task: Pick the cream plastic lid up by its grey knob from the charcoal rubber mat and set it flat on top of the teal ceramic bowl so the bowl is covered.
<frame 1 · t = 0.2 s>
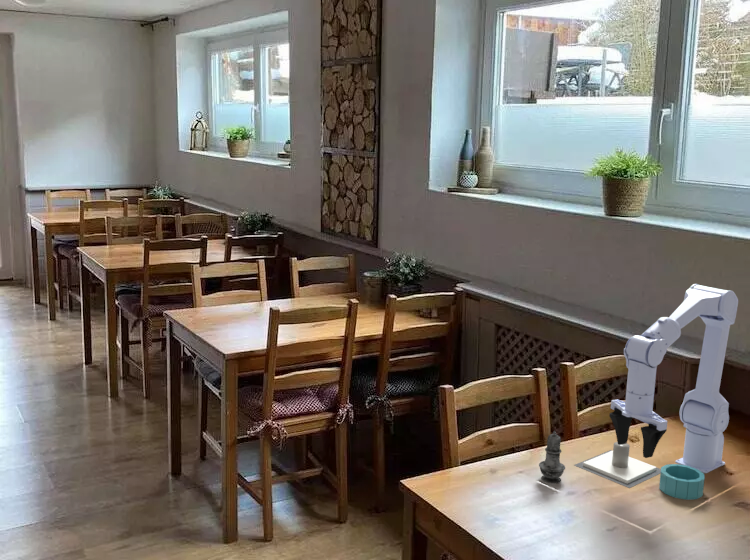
hand: (634, 450, 175), 10 cm above the table, tool pointing down, fingers open, 7 cm apart
bowl: (680, 491, 177), on the table
lid: (619, 467, 188), resting on mat
dark grey turned figure: (550, 481, 181), on the table
mat: (619, 469, 188), on the table
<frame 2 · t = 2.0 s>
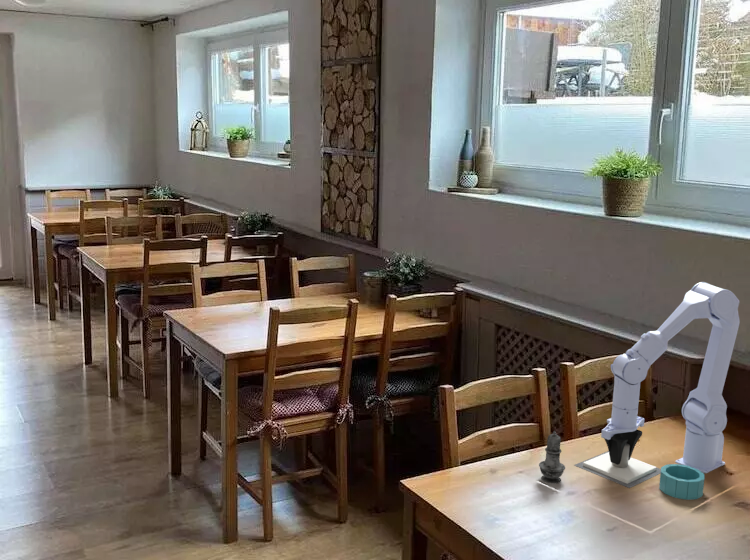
hand: (620, 460, 188), 2 cm above the table, tool pointing down, fingers closed on lid, 4 cm apart
lid: (619, 467, 188), resting on mat, touching gripper
everything else where it was.
when the fingers open (7 cm above the table, at t = 5.0 s): lid stays where it is, resting on bowl.
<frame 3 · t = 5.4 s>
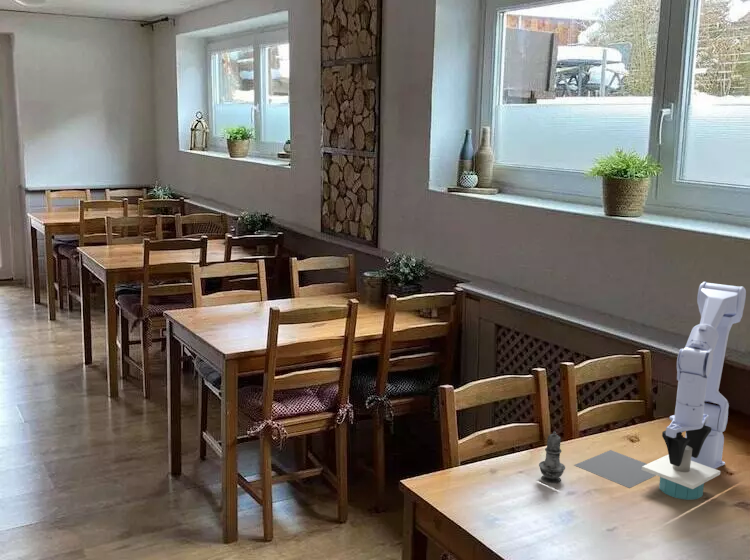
hand: (683, 460, 176), 7 cm above the table, tool pointing down, fingers open, 7 cm apart
lid: (680, 472, 177), point 4 cm above the table, touching bowl
everything else where it was.
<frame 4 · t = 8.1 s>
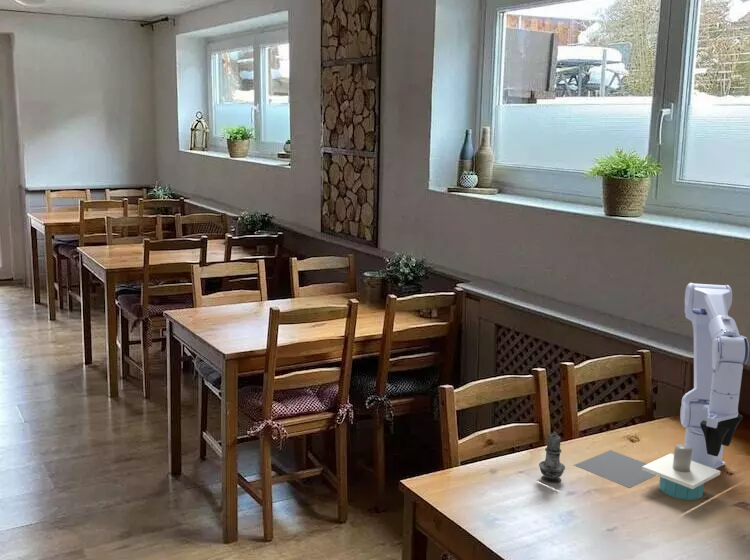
hand: (718, 449, 175), 10 cm above the table, tool pointing down, fingers open, 7 cm apart
nothing on the table moved.
at the end: lid 0.4 cm off-centre on the bowl, point 4.5 cm above the bowl's base; lid tilted 0°; the gripper is holding nothing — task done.
